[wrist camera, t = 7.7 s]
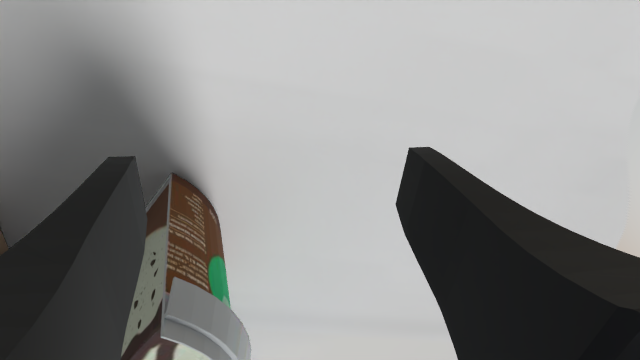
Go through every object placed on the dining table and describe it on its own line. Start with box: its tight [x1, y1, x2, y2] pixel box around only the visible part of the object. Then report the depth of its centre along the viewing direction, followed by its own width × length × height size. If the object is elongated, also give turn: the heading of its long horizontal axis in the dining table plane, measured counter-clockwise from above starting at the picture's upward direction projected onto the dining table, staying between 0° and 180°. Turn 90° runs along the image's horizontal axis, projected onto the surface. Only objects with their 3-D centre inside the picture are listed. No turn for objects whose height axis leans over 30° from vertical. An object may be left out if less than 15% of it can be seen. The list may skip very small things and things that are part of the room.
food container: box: [121, 173, 251, 360], centre depth 22 cm, size 12×6×10 cm, turn 140°
